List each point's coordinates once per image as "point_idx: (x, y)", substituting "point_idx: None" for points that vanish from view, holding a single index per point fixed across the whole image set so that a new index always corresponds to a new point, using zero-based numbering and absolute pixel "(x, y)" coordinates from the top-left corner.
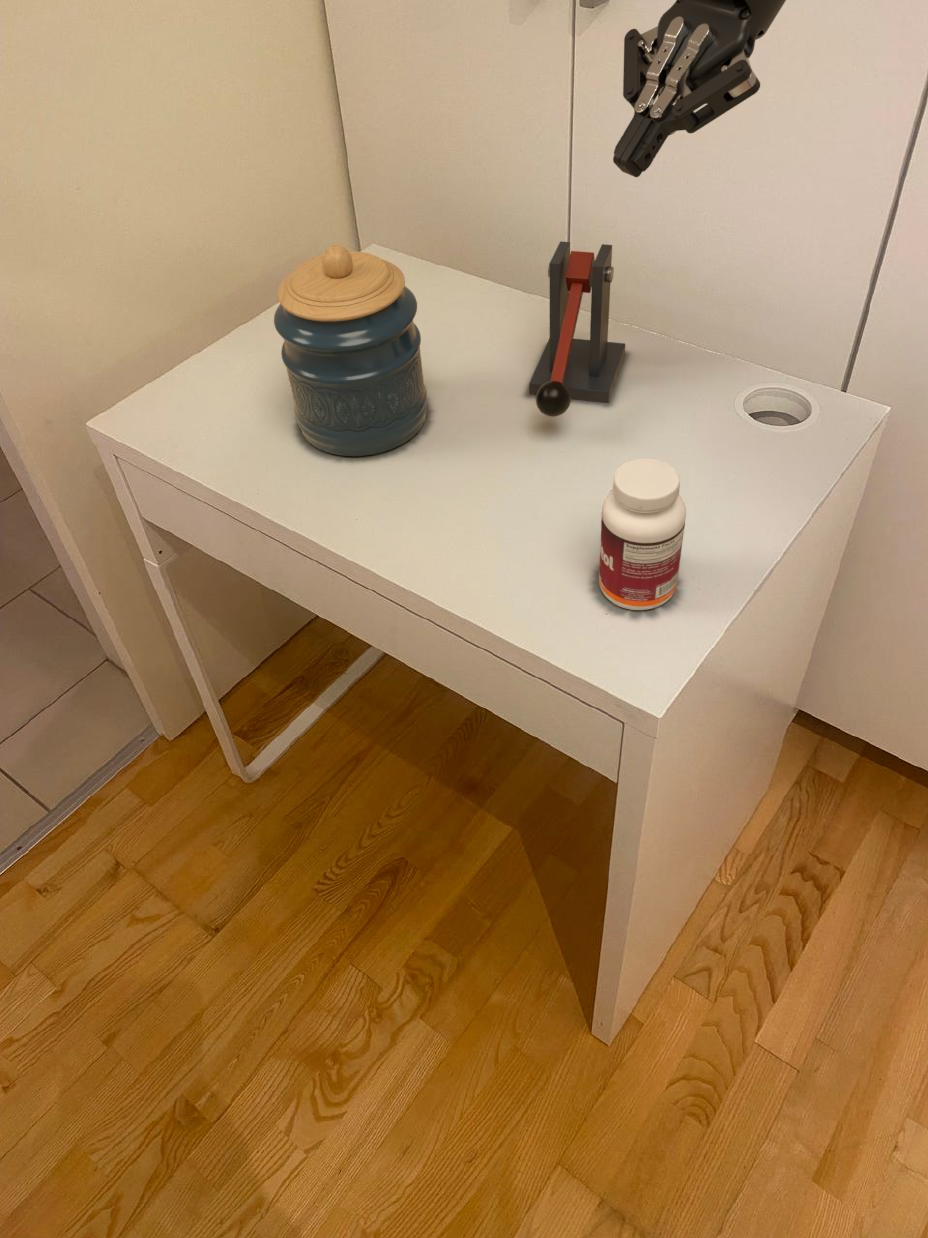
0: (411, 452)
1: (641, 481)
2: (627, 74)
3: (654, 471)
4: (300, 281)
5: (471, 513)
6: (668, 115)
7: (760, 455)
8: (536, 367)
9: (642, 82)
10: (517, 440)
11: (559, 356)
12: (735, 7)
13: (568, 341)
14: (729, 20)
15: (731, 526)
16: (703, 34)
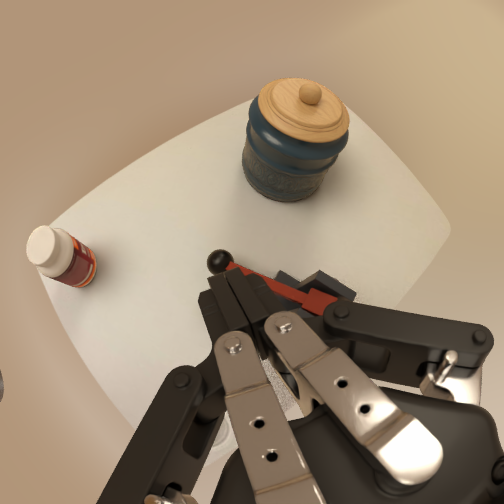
0: (239, 183)
1: (39, 240)
2: (388, 316)
3: (41, 251)
4: (302, 81)
5: (168, 201)
6: (213, 365)
7: (155, 393)
8: (298, 281)
9: (386, 359)
10: (227, 247)
11: (246, 271)
12: None
13: None
14: None
15: (100, 340)
16: None
